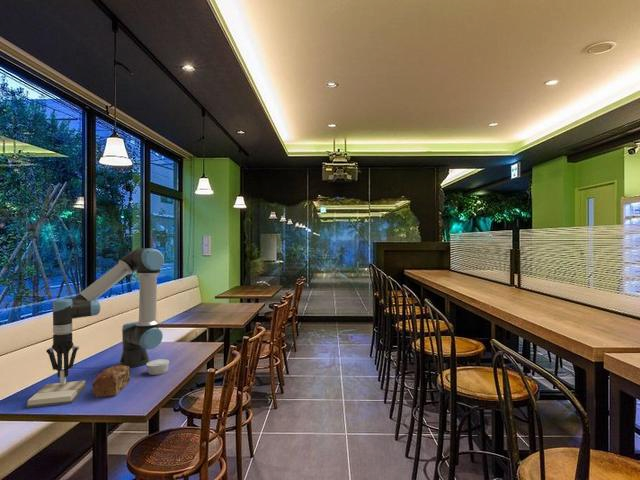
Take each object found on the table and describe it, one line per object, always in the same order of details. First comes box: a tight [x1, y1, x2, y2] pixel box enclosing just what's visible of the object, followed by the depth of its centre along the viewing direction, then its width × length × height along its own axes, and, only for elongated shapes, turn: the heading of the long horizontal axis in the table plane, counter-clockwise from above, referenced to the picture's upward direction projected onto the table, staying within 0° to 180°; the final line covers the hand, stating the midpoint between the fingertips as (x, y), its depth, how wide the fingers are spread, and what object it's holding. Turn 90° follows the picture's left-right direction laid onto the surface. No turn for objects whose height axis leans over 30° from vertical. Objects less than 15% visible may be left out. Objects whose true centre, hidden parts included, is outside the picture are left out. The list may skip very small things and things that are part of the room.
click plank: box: [36, 380, 87, 393], centre depth 181 cm, size 16×11×2 cm
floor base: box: [25, 383, 88, 409], centre depth 177 cm, size 17×20×3 cm
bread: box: [92, 364, 131, 398], centre depth 185 cm, size 19×11×10 cm, turn 7°
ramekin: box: [145, 358, 170, 376], centre depth 208 cm, size 11×11×5 cm
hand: (63, 384), depth 183 cm, fingers closed
